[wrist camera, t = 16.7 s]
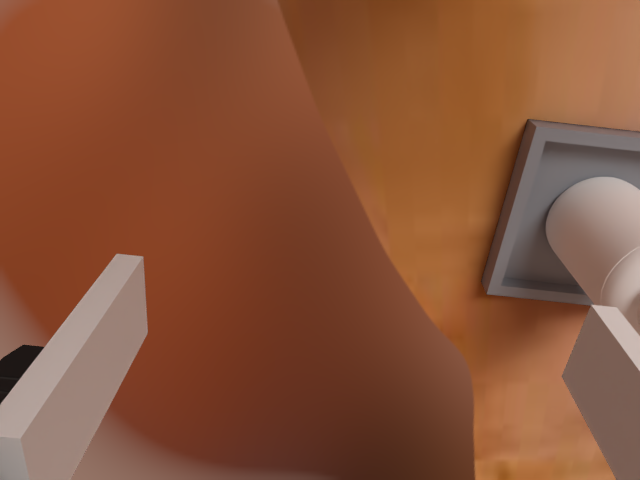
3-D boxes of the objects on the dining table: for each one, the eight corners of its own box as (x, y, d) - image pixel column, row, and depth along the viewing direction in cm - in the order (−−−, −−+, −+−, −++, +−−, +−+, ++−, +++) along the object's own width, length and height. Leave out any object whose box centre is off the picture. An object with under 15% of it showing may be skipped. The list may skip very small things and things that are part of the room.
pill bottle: (629, 259, 46) (746, 379, 33) (535, 259, 46) (613, 378, 33) (654, 172, 42) (796, 268, 29) (552, 173, 43) (646, 268, 30)
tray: (527, 119, 41) (536, 126, 40) (716, 140, 42) (734, 148, 40) (481, 281, 48) (486, 294, 47) (643, 299, 49) (655, 312, 47)
